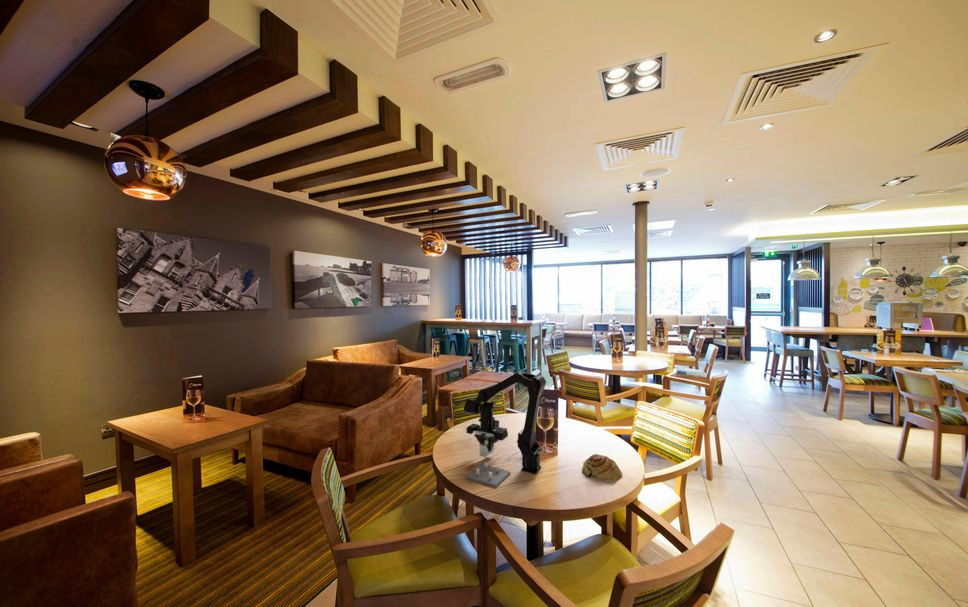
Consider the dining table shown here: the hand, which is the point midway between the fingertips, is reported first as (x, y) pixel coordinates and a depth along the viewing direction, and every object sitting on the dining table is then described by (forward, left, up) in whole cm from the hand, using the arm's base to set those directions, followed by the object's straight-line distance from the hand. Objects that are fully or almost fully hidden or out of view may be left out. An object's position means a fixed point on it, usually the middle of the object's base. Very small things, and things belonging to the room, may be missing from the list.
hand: (487, 450), depth 154 cm
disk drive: (+11, -25, -4) cm, 28 cm away
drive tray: (-8, +13, -4) cm, 16 cm away
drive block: (0, 0, -1) cm, 1 cm away
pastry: (-47, -12, -4) cm, 49 cm away
